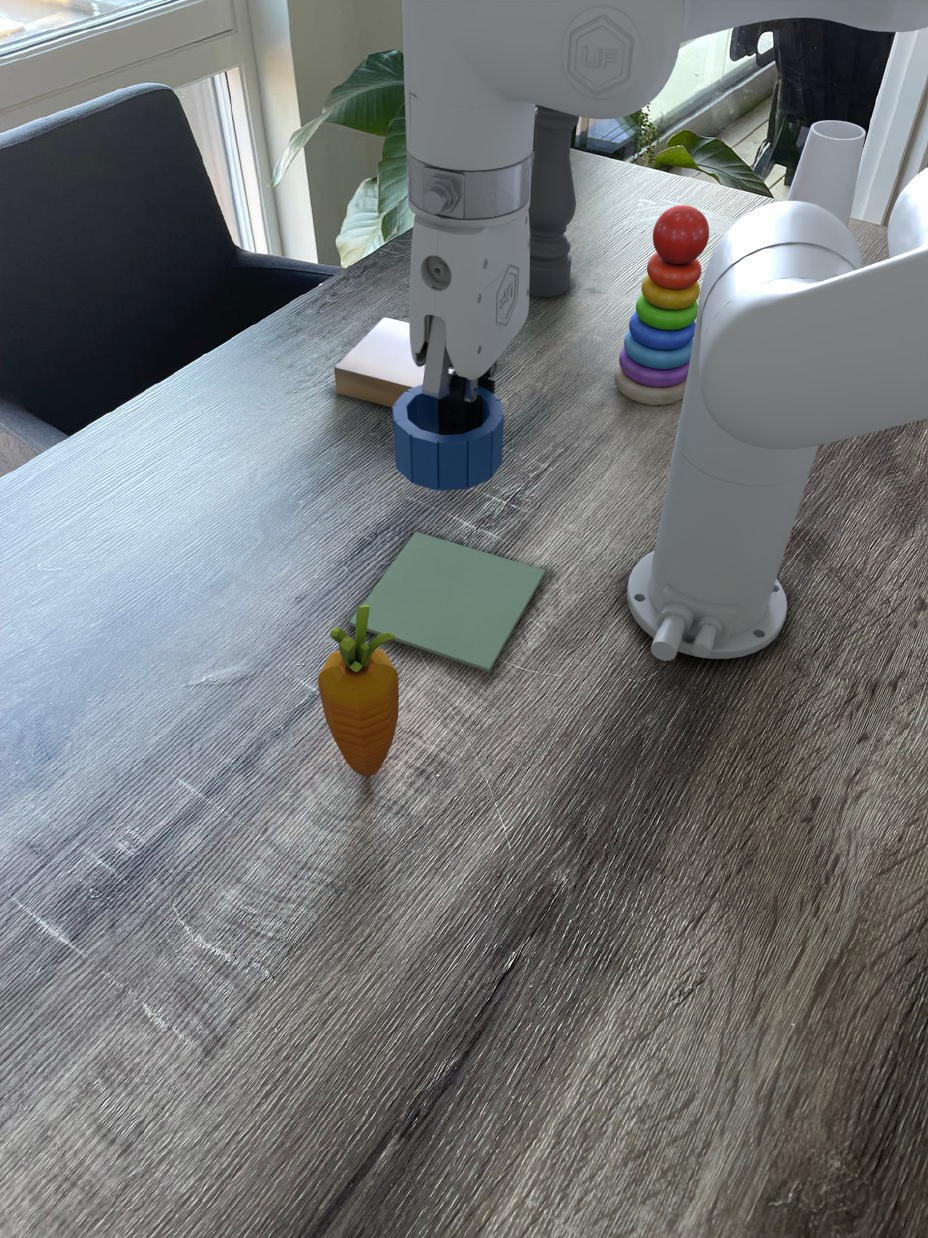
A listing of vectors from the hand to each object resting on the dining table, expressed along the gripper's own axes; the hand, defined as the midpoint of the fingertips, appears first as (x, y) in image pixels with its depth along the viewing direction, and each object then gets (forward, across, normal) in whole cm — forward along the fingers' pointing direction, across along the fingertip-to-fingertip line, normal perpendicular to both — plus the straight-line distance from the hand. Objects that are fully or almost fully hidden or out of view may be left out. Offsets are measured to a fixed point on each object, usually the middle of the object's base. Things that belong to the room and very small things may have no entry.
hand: (466, 430), depth 73 cm
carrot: (+14, -22, -2) cm, 26 cm away
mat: (+14, -4, 0) cm, 14 cm away
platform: (+14, +24, +17) cm, 33 cm away
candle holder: (+14, +49, +12) cm, 53 cm away
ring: (0, -3, 0) cm, 3 cm away
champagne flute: (+14, +42, -17) cm, 48 cm away
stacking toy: (+14, +33, -6) cm, 37 cm away
